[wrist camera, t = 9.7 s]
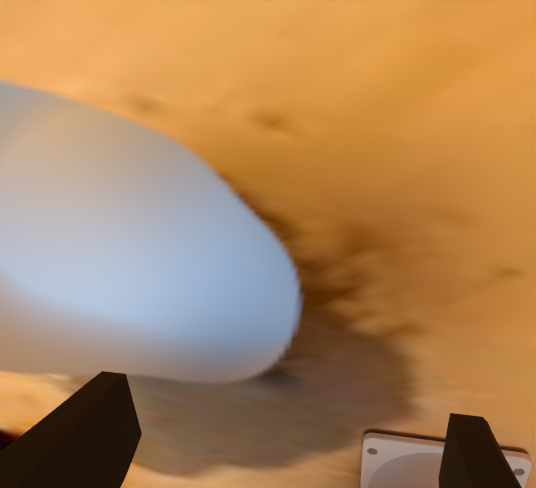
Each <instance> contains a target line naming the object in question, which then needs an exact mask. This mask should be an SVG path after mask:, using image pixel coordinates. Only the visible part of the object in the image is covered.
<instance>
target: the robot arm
mask: <svg viewBox="0 0 536 488" xmlns="http://www.w3.org/2000/svg"><path fill="white" fill-rule="evenodd" d="M141 435H142V433H141V429H140V426H139V422H138V418H137V414H136V411H135V407H134V403H133V399H132V396H131V392H130V388H129V384H128V381H127V377H126V374H121V373H113V372H104V371H102V372H101V373H99V374H98V375H97V376H96V377H94V378H93V379H92V380H90V381H89V382H88V383H87V384H85V385H84V386H83V387H82V388H80V389H79V390H78V391H77V392H76V393H74V394H73V395H72V396H71V397H69V398H68V399H67V400H66V401H65V402H63V403H62V404H61V405H60V406H58V407H57V408H56V409H55V410H53V411H52V412H51V413H50V414H48V415H47V416H46V417H45V418H43V419H42V420H41V421H40V422H38V423H37V424H36V425H35V426H33V427H32V428H31V429H30V430H28V431H27V432H26V433H25V434H23V435H22V436H21V437H19V438H18V439H17V440H16V441H14V442H13V443H12V444H10V445H9V446H8V447H6V448H5V449H3V450H2V451H1V452H0V488H120V487H121V485H122V483H123V481H124V479H125V477H126V474H127V472H128V469H129V467H130V464H131V462H132V459H133V456H134V454H135V451H136V448H137V445H138V443H139V440H140V437H141ZM531 468H532V462H531V459H530V457H529V455H527V454H525V453H522V452H515V451H507V450H501V449H500V447H499V445H498V443H497V441H496V439H495V437H494V435H493V433H492V431H491V429H490V426H489V424H488V422H487V421H486V420H485V419H484V418H483V417H478V416H470V415H462V414H453V413H450V418H449V423H448V429H447V434H446V439H445V442H440V441H432V440H424V439H417V438H409V437H402V436H394V435H387V434H379V433H367V434H365V435H364V437H363V448H362V464H361V480H360V488H525V486H526V483H527V480H528V477H529V474H530V471H531Z"/></svg>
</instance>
